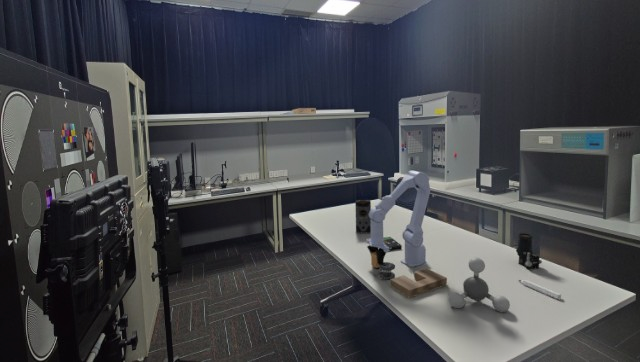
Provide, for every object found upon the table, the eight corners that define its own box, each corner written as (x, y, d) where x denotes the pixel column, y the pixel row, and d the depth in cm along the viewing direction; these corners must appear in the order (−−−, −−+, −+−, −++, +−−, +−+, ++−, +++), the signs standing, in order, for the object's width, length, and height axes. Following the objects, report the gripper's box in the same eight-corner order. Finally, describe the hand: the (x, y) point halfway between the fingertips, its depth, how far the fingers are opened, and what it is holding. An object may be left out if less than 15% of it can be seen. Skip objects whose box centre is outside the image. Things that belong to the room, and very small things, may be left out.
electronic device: (355, 233, 204) (355, 201, 201) (356, 230, 210) (355, 199, 207) (371, 233, 202) (370, 201, 199) (371, 230, 208) (370, 199, 205)
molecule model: (481, 308, 129) (453, 261, 134) (520, 297, 118) (487, 247, 124) (462, 332, 114) (431, 279, 120) (504, 322, 104) (468, 264, 109)
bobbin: (388, 271, 148) (387, 261, 147) (398, 277, 142) (398, 266, 141) (375, 275, 145) (375, 264, 144) (385, 281, 139) (385, 270, 138)
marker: (518, 283, 134) (559, 301, 120) (515, 282, 134) (556, 299, 119) (520, 277, 135) (562, 294, 120) (517, 276, 134) (559, 293, 119)
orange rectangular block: (378, 263, 156) (378, 251, 155) (383, 265, 152) (383, 253, 152) (371, 264, 154) (371, 252, 153) (376, 267, 151) (376, 255, 150)
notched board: (426, 274, 143) (426, 268, 143) (446, 284, 134) (446, 277, 133) (390, 286, 134) (390, 279, 134) (409, 297, 125) (409, 290, 124)
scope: (529, 240, 142) (510, 233, 151) (527, 270, 144) (509, 262, 153) (544, 238, 144) (525, 231, 153) (542, 267, 146) (523, 259, 155)
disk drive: (402, 250, 175) (390, 240, 189) (402, 245, 174) (390, 236, 189) (384, 252, 173) (373, 242, 187) (384, 247, 172) (373, 238, 187)
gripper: (360, 231, 156) (361, 258, 158) (379, 239, 143) (380, 269, 145) (372, 228, 159) (373, 255, 161) (392, 236, 146) (392, 265, 148)
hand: (377, 261), depth 153 cm, fingers closed on orange rectangular block, 4 cm apart
